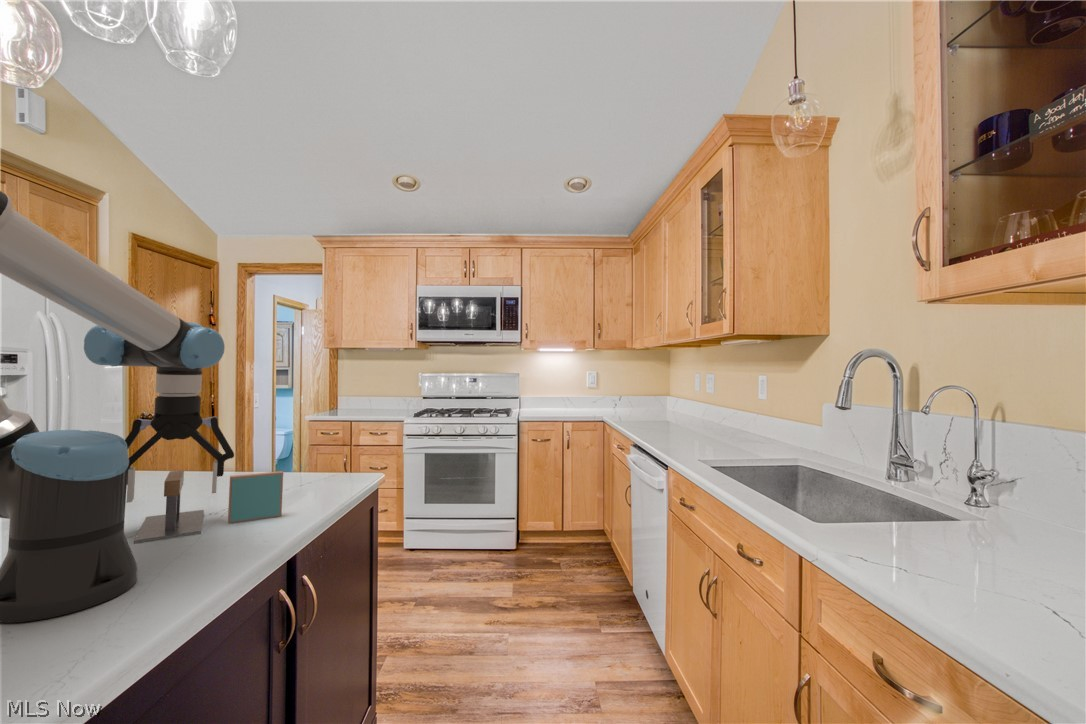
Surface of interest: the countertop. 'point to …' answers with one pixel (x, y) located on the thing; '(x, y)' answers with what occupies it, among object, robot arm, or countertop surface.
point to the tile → (255, 496)
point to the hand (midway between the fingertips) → (173, 496)
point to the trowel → (171, 515)
